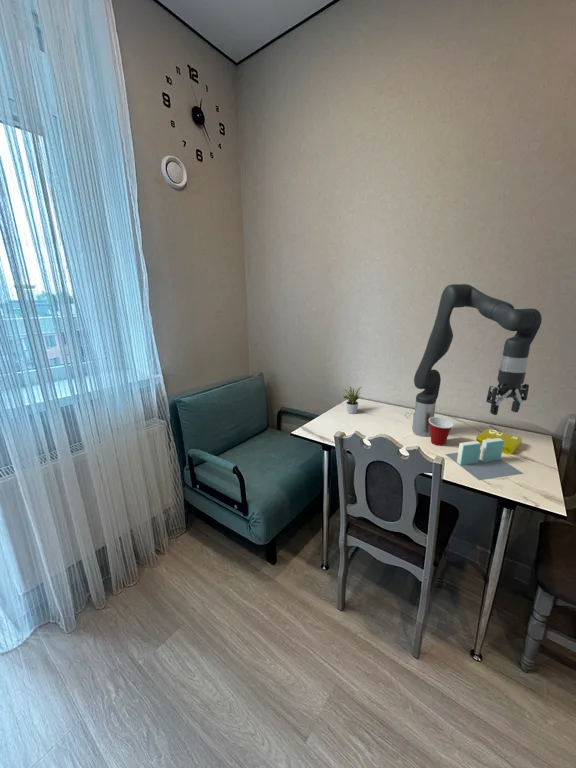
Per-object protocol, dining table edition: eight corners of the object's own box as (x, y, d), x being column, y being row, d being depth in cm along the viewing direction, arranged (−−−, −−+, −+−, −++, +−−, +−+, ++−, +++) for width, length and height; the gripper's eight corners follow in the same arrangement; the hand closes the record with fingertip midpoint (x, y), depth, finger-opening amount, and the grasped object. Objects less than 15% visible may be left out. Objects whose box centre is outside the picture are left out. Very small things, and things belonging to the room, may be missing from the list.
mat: (445, 455, 141) (445, 454, 141) (484, 450, 145) (484, 448, 144) (478, 481, 123) (479, 480, 122) (523, 475, 126) (523, 473, 126)
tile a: (456, 462, 135) (459, 443, 132) (473, 459, 136) (476, 440, 133) (460, 465, 132) (463, 445, 130) (477, 462, 134) (481, 443, 131)
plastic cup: (443, 452, 144) (446, 428, 140) (421, 443, 152) (423, 420, 149) (455, 445, 150) (458, 421, 147) (433, 437, 158) (436, 414, 155)
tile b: (479, 458, 137) (482, 440, 134) (495, 456, 138) (499, 437, 135) (484, 461, 134) (487, 442, 132) (500, 459, 136) (504, 440, 133)
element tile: (473, 445, 150) (475, 436, 149) (486, 435, 159) (487, 426, 158) (510, 457, 139) (512, 447, 138) (521, 446, 148) (523, 437, 147)
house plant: (351, 405, 202) (352, 381, 197) (369, 411, 192) (370, 386, 187) (336, 411, 193) (336, 386, 188) (354, 418, 183) (355, 391, 178)
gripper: (520, 364, 113) (512, 407, 117) (485, 367, 110) (478, 411, 115) (540, 370, 105) (530, 415, 110) (503, 373, 103) (495, 419, 108)
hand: (504, 413), depth 113 cm, fingers open, 8 cm apart
